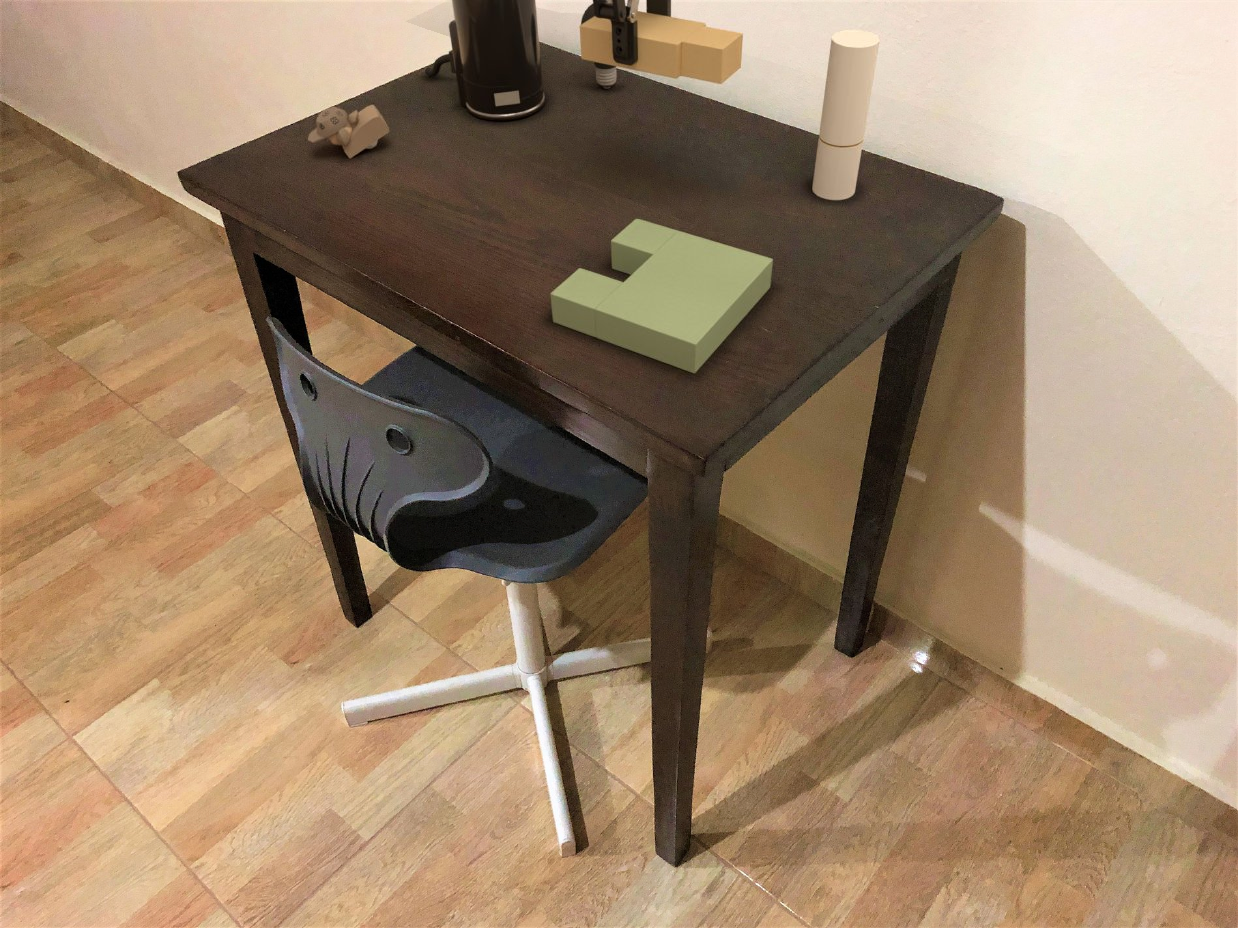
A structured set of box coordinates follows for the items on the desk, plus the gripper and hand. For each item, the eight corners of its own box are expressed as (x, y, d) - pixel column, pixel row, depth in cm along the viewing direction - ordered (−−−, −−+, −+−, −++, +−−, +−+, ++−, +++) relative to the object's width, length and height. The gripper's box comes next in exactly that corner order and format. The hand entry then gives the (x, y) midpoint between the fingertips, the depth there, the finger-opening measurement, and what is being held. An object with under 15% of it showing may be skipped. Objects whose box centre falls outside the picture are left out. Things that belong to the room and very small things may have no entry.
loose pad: (581, 59, 86) (579, 25, 84) (611, 39, 89) (610, 6, 87) (717, 87, 80) (718, 52, 78) (744, 65, 84) (746, 30, 82)
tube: (854, 201, 93) (879, 49, 83) (811, 198, 94) (830, 46, 83) (855, 181, 96) (879, 30, 86) (813, 178, 97) (832, 28, 86)
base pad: (552, 322, 80) (549, 293, 78) (636, 246, 89) (636, 218, 87) (694, 374, 75) (695, 344, 73) (770, 287, 83) (773, 258, 81)
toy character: (332, 165, 106) (297, 123, 102) (389, 125, 106) (357, 82, 101) (338, 181, 104) (303, 139, 99) (396, 141, 103) (364, 96, 99)
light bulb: (576, 93, 113) (571, 7, 106) (594, 75, 117) (590, -10, 110) (619, 99, 112) (616, 12, 105) (636, 81, 115) (635, -5, 108)
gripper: (643, -190, 79) (645, 19, 91) (548, -153, 70) (565, 72, 82) (722, -183, 76) (714, 31, 88) (634, -144, 67) (638, 88, 79)
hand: (642, 50), depth 85 cm, fingers closed on loose pad, 5 cm apart
